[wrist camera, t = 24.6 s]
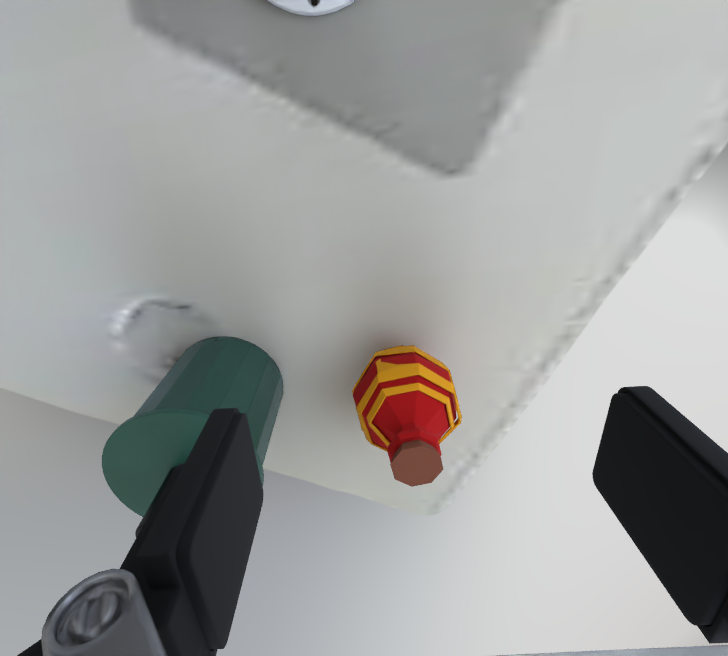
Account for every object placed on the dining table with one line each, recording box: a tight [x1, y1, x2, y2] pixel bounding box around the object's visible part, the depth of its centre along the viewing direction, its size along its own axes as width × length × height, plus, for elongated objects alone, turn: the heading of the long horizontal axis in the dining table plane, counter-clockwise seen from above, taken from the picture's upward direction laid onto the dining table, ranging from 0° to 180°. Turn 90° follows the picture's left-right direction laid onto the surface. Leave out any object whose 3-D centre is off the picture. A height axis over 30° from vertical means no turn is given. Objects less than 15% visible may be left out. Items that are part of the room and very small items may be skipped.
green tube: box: [133, 337, 283, 465], centre depth 39 cm, size 12×12×13 cm
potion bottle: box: [352, 345, 462, 486], centre depth 38 cm, size 10×10×15 cm
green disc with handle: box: [102, 408, 264, 538], centre depth 31 cm, size 13×13×7 cm
